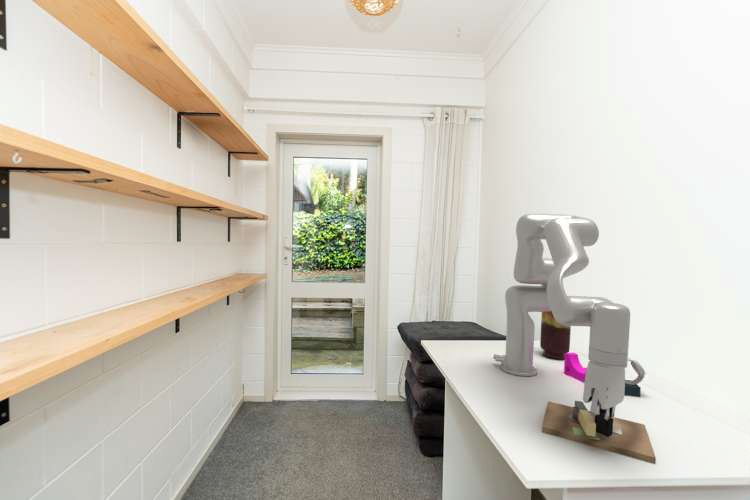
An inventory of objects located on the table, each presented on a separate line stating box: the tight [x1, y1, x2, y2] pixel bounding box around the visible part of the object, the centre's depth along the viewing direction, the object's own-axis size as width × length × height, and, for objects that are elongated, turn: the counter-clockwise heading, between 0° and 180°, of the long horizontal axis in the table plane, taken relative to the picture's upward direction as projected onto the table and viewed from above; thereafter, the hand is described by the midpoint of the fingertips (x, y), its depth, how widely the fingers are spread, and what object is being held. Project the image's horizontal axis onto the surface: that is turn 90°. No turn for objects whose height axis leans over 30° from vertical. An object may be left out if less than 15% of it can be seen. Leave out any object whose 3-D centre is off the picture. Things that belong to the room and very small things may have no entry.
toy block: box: [563, 352, 587, 384], centre depth 120 cm, size 15×6×8 cm, turn 15°
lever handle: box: [572, 400, 596, 437], centre depth 85 cm, size 12×4×4 cm, turn 163°
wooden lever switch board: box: [541, 400, 657, 464], centre depth 86 cm, size 22×16×2 cm
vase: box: [539, 311, 572, 360], centre depth 146 cm, size 11×11×26 cm
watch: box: [624, 357, 646, 398], centre depth 111 cm, size 6×8×11 cm
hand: (603, 433), depth 81 cm, fingers closed
